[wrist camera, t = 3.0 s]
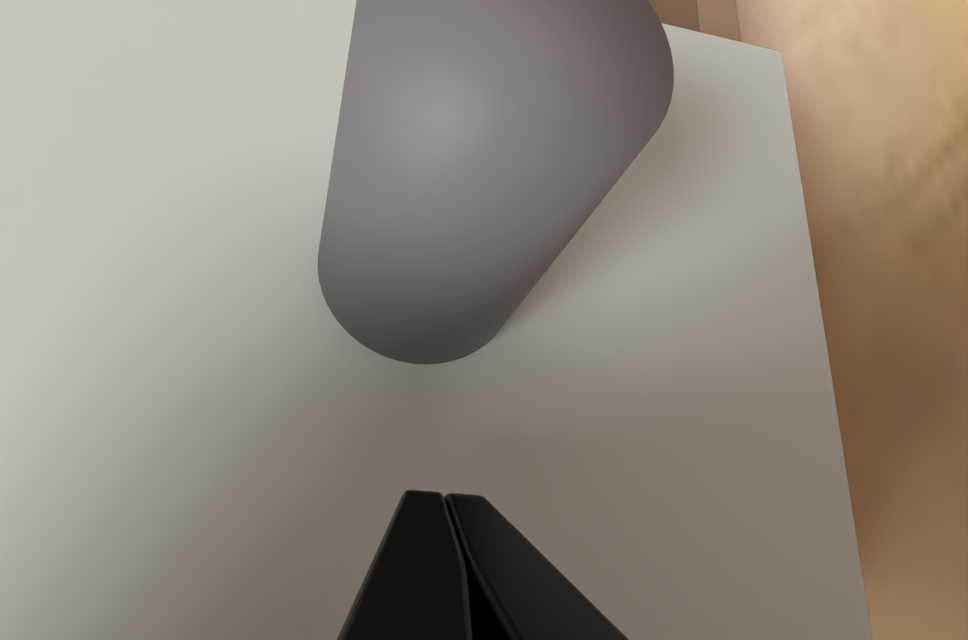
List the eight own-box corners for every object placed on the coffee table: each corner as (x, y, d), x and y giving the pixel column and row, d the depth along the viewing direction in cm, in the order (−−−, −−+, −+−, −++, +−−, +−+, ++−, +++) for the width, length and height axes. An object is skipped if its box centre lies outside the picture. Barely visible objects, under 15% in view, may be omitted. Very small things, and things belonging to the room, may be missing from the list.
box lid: (858, 876, 11) (1451, 1118, 5) (-345, 934, 8) (-1848, 1684, 2) (752, 83, 16) (995, -188, 11) (25, -81, 13) (-140, -584, 8)
